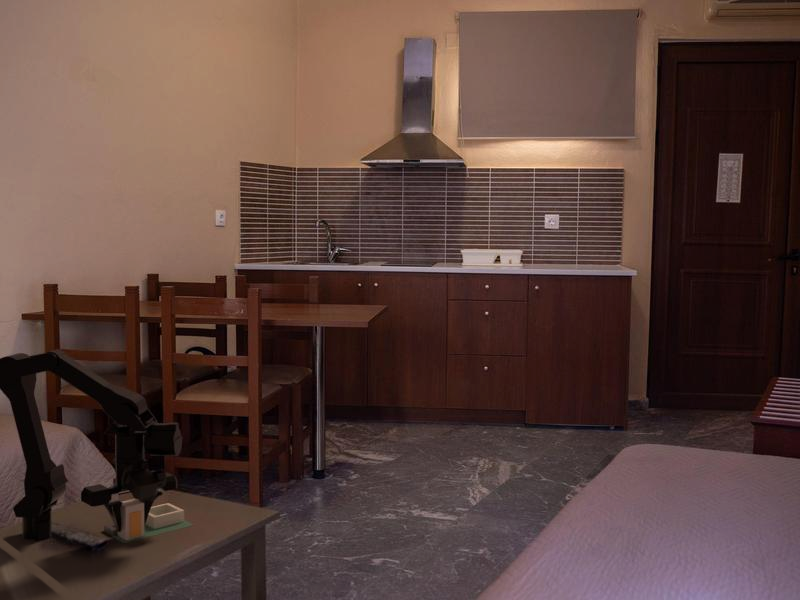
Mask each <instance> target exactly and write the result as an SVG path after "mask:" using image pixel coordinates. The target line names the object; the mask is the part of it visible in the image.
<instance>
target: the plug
mask: <svg viewBox="0 0 800 600" xmlns="http://www.w3.org/2000/svg"><path fill="white" fill-rule="evenodd" d="M121 502H122V505H121V508H120V511H121V532H118V536H119V537H121V538H123V539H124V540H130V539H134V538H138V537H142V536H144V503H143V502H141V501H139V499H135V498H133V499H132V498H131V499H127V500H124V501H121Z"/></svg>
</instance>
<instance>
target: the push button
mask: <svg viewBox="0 0 800 600" xmlns="http://www.w3.org/2000/svg"><path fill="white" fill-rule="evenodd" d="M103 530H104V531H106V532H107V533H109V534H111V535H112V536H116V535H118V531H117V530H116V527H115V525H114V523H113V522H111V523H107V524H104V525H103ZM104 531H103V532H104ZM106 532H105V533H106ZM107 533H106V534H107ZM109 534H108V535H109ZM111 535H110V536H111ZM112 536H111V537H112Z"/></svg>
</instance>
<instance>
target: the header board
mask: <svg viewBox="0 0 800 600" xmlns="http://www.w3.org/2000/svg"><path fill="white" fill-rule="evenodd" d="M192 526H194V524H193V523H191V522H189V521H187V520H185V509H182V508H180V507H178V506H176V505H173V504H172V503H169V502H168V503H163V504H158V505H155V506H153V505H152V506H151V509H150V512H149V514H148V517H147V520H146V523H145V526H144V536H142V537H138V538H134V539H130V540H124V539H123V538H121V537H119V536H118V535H116V536H112V535H111V534H109V533H107V532H106V531H104V529H103V530H102V532H104V533H106V534H107V535H108V536H109V535H110V536H111V537H113V538H114V539H116V540H117V541H120V543H122V544H126V543H130V542H133V541H137V540H141V539H142V540H143V539H146V538H150V537H152V536H158V535H161V534H164V533H169V532H173V531H176V530H180V529H185V528H189V527H192Z"/></svg>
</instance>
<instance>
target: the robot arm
mask: <svg viewBox="0 0 800 600" xmlns="http://www.w3.org/2000/svg"><path fill="white" fill-rule="evenodd" d="M44 372H51V373H53V374H54V376H56V377H58V378H60V379H62V380H63V381H65V383H68V384H69V385H71V386H72V387H74V388H76V389H77V390H78V391H80V392H82V393H83V394H84V395H86V396H88V397H89V398H91V399H92V400H94V401H95V402H96V403H97V404H98V405H99V406H100V407H101V409H102V410H103V412H104V413H105V414H106V415H107V416H108V417H109V418H110V419H111V420H113V422H112V423H111V425H110V426H109V427H108V428H107V429H106V430H105V431H104V434H105V435H106V436H108V435H109V436H113V435H114V441H115V443H114V445H115V446H114V449H115V453H114V454H115V458H112V465H115V477H114V478H113V477H112V481H113V482H112V483H113V484H114V485H115V486H110V487H107V486H105V485H103V484H101V483H99V484H94V485H89V486H84V487H83V488H82V490H81V493H80V501H81V502H82V503H85V504H86V505H88V506H90V507H94V508H95V507H98V506H104V507H105V509H106V510H107V512H108V515H109V516H110V519H111V520H112V523H114V525H115V527H116V530H117V531H118V532H121V511H120V508H121V505H122V501H120V500H119V496H120V495H125V494H131V495H132V498H133V499H137V500H139V501H141V502H143V503H144V526H145V523H146V520H147V517H148V514H149V512H150V509H151V507H153V504H154V502H155V501H156V500H157V499H158V498H159V497H160V496H161V497H162V496H163V494H164V492H167V491H172V490H176V489H178V479H177V477H176V476H175V475H174V474H173V473H172V474H171V473H169V472H167V471H165V470H164V468H161V469H155V470H151V471H150V469H149V463H148V460H147V459H145V453H146V454H149V456H155V457H157V456H159V457H160V456H161V457H163V456H164V457H165V456H166V457H168V456H169V457H177V456H179V455H180V454H181V452H182V448H183V435H182V433H181V432H182V431H181V429H180V428H179V427H180V426H179V422H168V423H166V422H158V419H156V417H155V416H154V414H153V413H152V412H151V410H150V409H149V408H148V404H147V399H146V398H145V396H143V395H141V394H140V393H137V392H135V391H133V390H130V389H128V388H125V387H122V386H118V385H115V384H112V383H111V382H109V381H107V380H105V379H104V378H103V377H101V376H99V375H98V374H97V373H96V372H94V371H92V370H90V369H89V368H88V367H86V366H84V365H83V364H81V363H79V362H78V361H77V360H76V359H73V358H71V356H69V355H68V354H67V353H66V352H64V350H61V349H54V350H50V351H47V352H44V353H39V354H33V355H29V354H27V353H23V352H20V353H14V354H11V355H5V356H3V357H0V391H1V392H2V393H3V394H4V395H5V396H6V398H7V399H8V401H9V402H10V403H9V404H10V407H11V411H12V414H13V418H14V423H15V427H16V431H17V435H18V439H19V442H20V446H21V450H22V454H23V457H24V462H25V466H26V467H25V474H24V480H23V490H24V496H23V497H22V498H21V499H20V500H19V501H18V502H17V503H16V504H15V505H14V506H13V507H12V509H13V513H14V515H15V517H16V518H21V528H22V529H21V530H22V531H21V536H22V539H25V540H29V541H30V540H33V541H37V542H39V541H42V540H48V539H51V537H52V534H51V530H52V531H53V515H52V514H53V512H52V511H53V510H52V508H53V507H54V506H56V505H57V503H58V502H59V499H60V498H61V497H62V496H63V495H64V493H65V492H66V490H67V483H68V482H69V480H68V477H66V474H65V466H64V464H63V463H61V464H58V465H57V464H56V462H54V461H53V460H52V458H51V456H50V451H49V448H48V444H47V440H46V439H47V438H46V436H45V432H44V428H43V423H42V419H41V416H40V413H39V408H38V404H37V401H36V397H35V392H36V391H35V389H36V386H37V385H36V384H37V374H39V373H44ZM160 489H161V490H162V491H164V492H162V491H161V490H160Z"/></svg>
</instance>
